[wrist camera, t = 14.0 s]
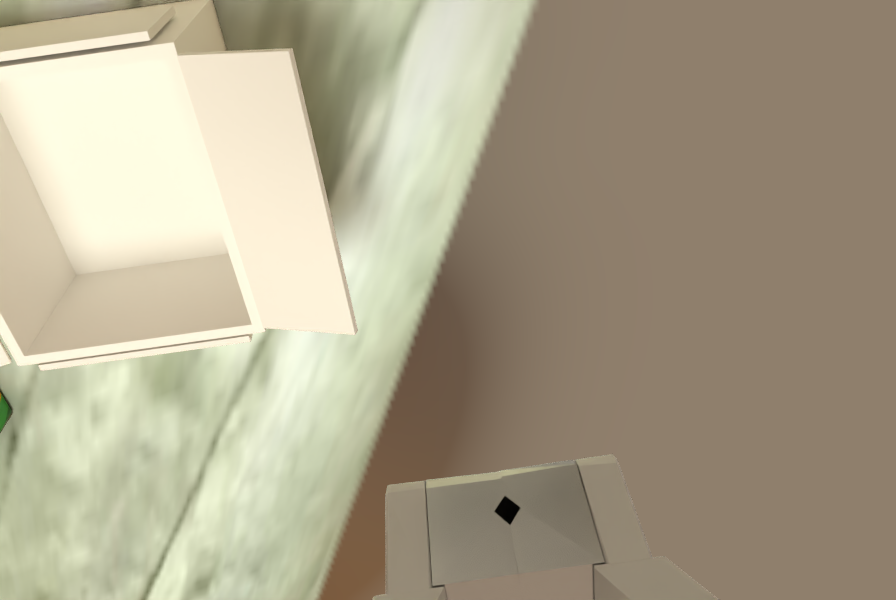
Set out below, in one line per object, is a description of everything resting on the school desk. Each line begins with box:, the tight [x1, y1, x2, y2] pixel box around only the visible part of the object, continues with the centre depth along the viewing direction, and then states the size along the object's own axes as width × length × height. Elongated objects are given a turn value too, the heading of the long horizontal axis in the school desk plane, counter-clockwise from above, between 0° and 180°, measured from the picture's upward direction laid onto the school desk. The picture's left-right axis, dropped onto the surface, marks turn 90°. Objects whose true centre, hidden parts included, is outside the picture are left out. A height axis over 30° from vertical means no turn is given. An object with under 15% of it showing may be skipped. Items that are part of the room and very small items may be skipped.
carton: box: [0, 0, 266, 371], centre depth 42 cm, size 17×14×9 cm
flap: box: [177, 48, 358, 335], centre depth 37 cm, size 15×1×6 cm
